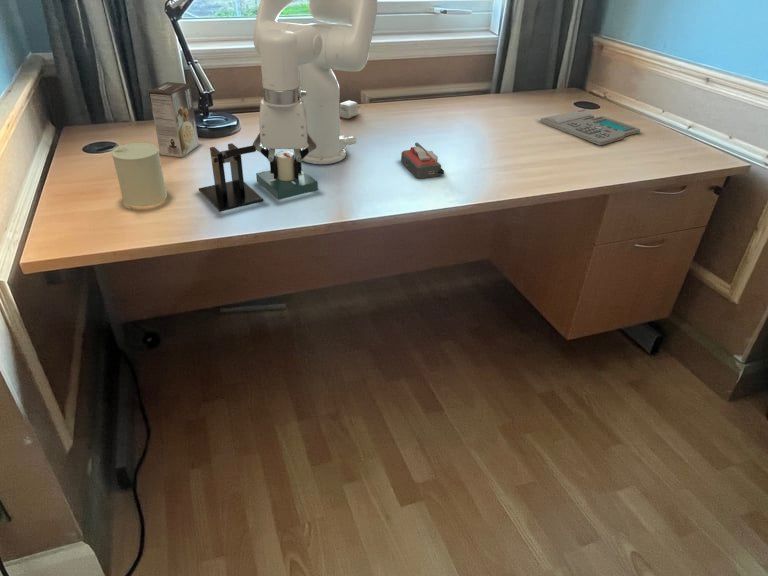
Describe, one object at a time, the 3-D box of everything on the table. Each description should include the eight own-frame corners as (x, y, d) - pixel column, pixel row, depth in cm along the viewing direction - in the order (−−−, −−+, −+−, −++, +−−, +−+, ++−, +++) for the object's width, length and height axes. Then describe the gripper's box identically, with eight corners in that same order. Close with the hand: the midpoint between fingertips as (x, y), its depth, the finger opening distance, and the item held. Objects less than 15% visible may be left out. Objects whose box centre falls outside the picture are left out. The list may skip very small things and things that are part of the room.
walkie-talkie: (451, 177, 143) (419, 148, 159) (453, 160, 141) (420, 132, 156) (418, 181, 141) (389, 151, 156) (420, 164, 138) (390, 135, 153)
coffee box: (177, 142, 155) (166, 80, 146) (199, 145, 154) (190, 83, 145) (159, 155, 148) (147, 90, 139) (183, 158, 147) (172, 93, 138)
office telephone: (540, 114, 179) (583, 104, 189) (539, 122, 181) (581, 112, 190) (602, 137, 164) (645, 125, 173) (600, 146, 165) (643, 134, 175)
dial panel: (295, 176, 140) (294, 164, 138) (318, 193, 133) (317, 181, 131) (257, 185, 135) (255, 172, 134) (278, 203, 128) (277, 190, 126)
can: (129, 191, 130) (118, 140, 123) (172, 191, 131) (162, 140, 124) (117, 211, 122) (104, 156, 116) (162, 210, 123) (152, 157, 116)
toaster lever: (257, 154, 116) (253, 142, 116) (228, 159, 113) (225, 147, 113) (238, 160, 126) (235, 149, 125) (212, 165, 123) (208, 154, 123)
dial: (274, 175, 133) (272, 151, 129) (290, 172, 135) (289, 148, 131) (282, 182, 130) (280, 157, 127) (298, 178, 132) (297, 154, 129)
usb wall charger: (338, 116, 178) (338, 103, 176) (352, 110, 183) (352, 97, 180) (349, 119, 176) (349, 105, 174) (362, 113, 181) (362, 100, 178)
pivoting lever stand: (263, 205, 127) (259, 153, 121) (219, 216, 122) (212, 163, 116) (241, 185, 135) (236, 135, 128) (199, 194, 130) (191, 143, 124)
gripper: (322, 90, 126) (323, 169, 136) (242, 89, 124) (250, 169, 135) (321, 101, 119) (323, 183, 130) (238, 99, 118) (247, 183, 128)
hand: (286, 175), depth 132 cm, fingers closed on dial, 4 cm apart
